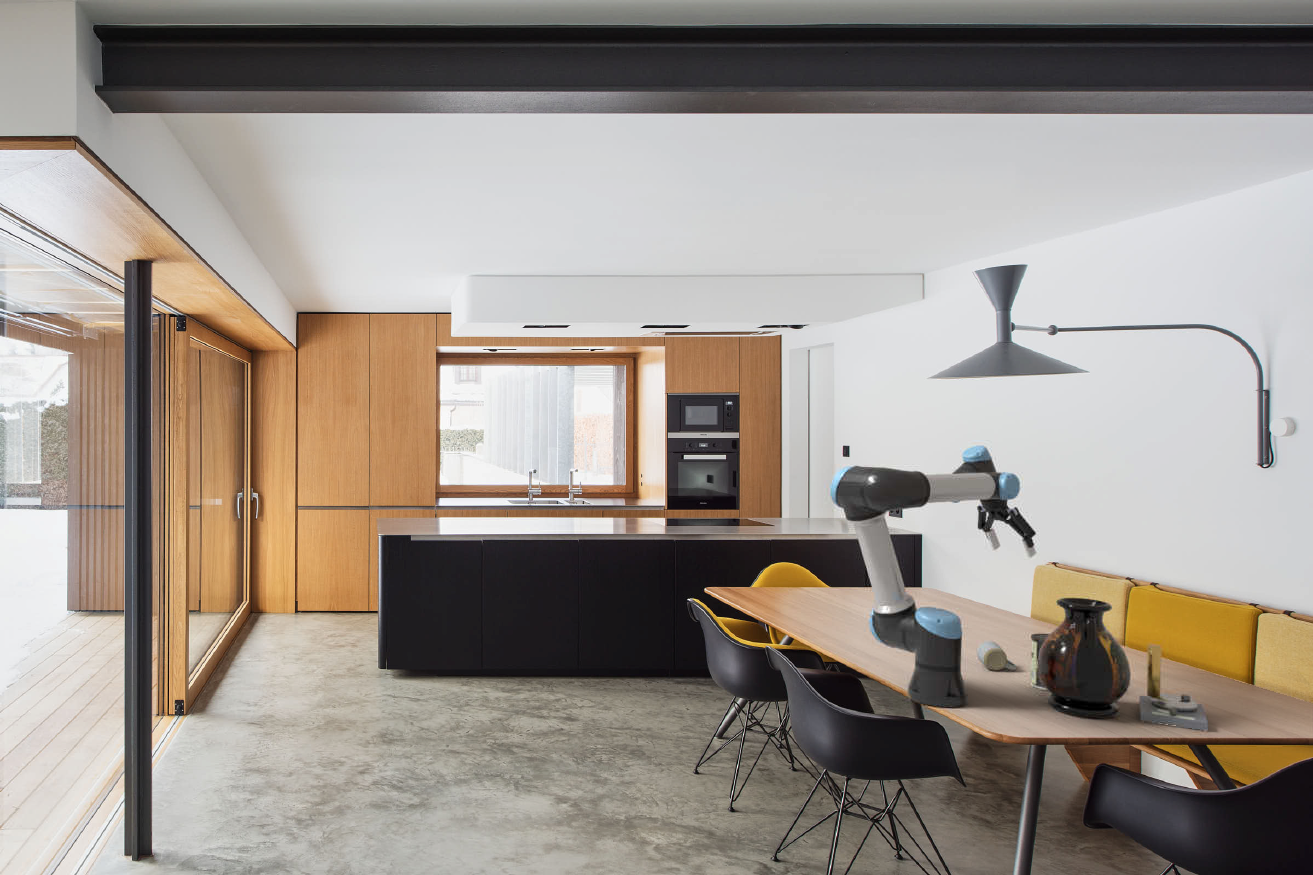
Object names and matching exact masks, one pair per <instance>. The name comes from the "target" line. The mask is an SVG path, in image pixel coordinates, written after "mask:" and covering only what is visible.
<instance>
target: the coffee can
mask: <svg viewBox="0 0 1313 875" xmlns="http://www.w3.org/2000/svg"><path fill="white" fill-rule="evenodd" d="M1050 634H1051V633H1032V634H1031V635H1030V638H1031V640H1030V641H1031V643H1030V644H1031V646H1030V647H1031V648H1030V649H1031V650H1030V652H1031V654H1030V656H1031V657H1030V685H1031V686H1032V687H1033V688H1036V689H1038V690H1041V691H1045V692H1046V691H1047V692H1049V691H1048V690H1047V689H1046V687H1045V686H1044V685H1043V683H1042V682H1041V680H1040V677H1039V674H1038V656H1039V652H1040V649H1041V646H1042V644H1043V643H1044V641H1045V639H1046V638H1047V637H1048V635H1050Z"/></svg>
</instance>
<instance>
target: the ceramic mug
mask: <svg viewBox="0 0 1313 875" xmlns="http://www.w3.org/2000/svg"><path fill="white" fill-rule="evenodd" d="M976 657H977V659H978V661H980V663H981V664H982V665H983V666H984V667H985V668H986V669H988V670H990V671H993V672H998V671H1001V670H1003V669H1005V668H1006V669H1008V670H1009V671H1010V670H1011V671H1012V672H1013V671H1015V670H1016V669H1017V665H1016V664H1015V663H1013V661H1010V660H1008V658H1007V654H1006V652H1005V651H1004V650H1003V648H1002V647H1001V646H1000V645H999V644H998V643H996V642H995V641H993V640H986V641H983V642H981V643H980V644H979V645H978V647H977V649H976Z"/></svg>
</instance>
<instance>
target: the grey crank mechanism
mask: <svg viewBox="0 0 1313 875" xmlns="http://www.w3.org/2000/svg"><path fill="white" fill-rule="evenodd" d="M1203 706H1204V705H1203V704H1202V703H1198V702H1197V710H1196V711H1191V712H1184V711H1177V710H1176V709H1174V708H1171V709H1170V710H1169V709H1165V708H1161V707H1158V706H1156V705H1154V704H1152V703H1151V697H1150V696H1147V695H1143V694H1142V695H1141V694H1139V717H1140V718H1139V719H1140V720H1142V721H1141V722H1144V721H1148V722H1147V723H1150V722H1154V723H1153V724H1156V723H1161V724H1160V725H1163V724H1168V725H1167V726H1169V725H1176V726H1181V727H1180V728H1182V727H1185V728H1184V729H1188V728H1192V729H1191V730H1194V729H1199V730H1198V731H1201V730H1207V731H1208V730H1209V723H1208V719H1207V716H1206V713H1205V708H1204V707H1203ZM1207 731H1206V732H1207ZM1208 732H1209V731H1208Z"/></svg>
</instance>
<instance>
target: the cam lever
mask: <svg viewBox="0 0 1313 875" xmlns="http://www.w3.org/2000/svg"><path fill="white" fill-rule="evenodd" d="M1146 651H1147V655H1146V656H1147V658H1146V661H1147V664H1146V665H1147V666H1146V667H1147V668H1146V673H1147V674H1146V696H1149V697H1151V703H1152V704H1154V705H1156V706H1158V707H1161V708H1165V709H1169V710H1170V709H1171V708H1174V709H1176V710H1177V711H1184V712H1191V711H1196V710H1197V703H1198V701H1197V700H1195V699H1192V698H1191V695H1189V694H1185V693H1184V694H1180V695H1179V694H1174V693H1173V694H1172V693H1161V683H1162V682H1161V679H1162V678H1161V677H1162V676H1161V674H1162V673H1161V672H1162V670H1161V669H1162V668H1161V666H1162V663H1161V662H1162V646H1161V645H1157V644H1151V643H1149V644H1147V650H1146Z"/></svg>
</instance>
